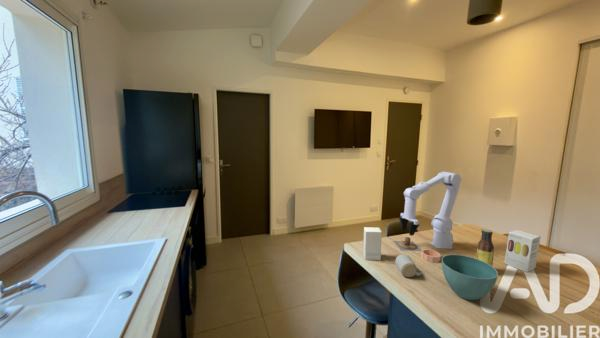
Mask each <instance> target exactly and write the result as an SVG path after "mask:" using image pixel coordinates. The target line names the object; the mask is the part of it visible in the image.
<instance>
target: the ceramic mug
mask: <svg viewBox="0 0 600 338" xmlns="http://www.w3.org/2000/svg"><path fill="white" fill-rule="evenodd" d="M395 265H396V267H397V269H398V271H400V273H401V275H403V276H404V277H406V278H412V277H414V276H418V277H420V276H421V275H422V273H423V272H422V270H420V269H419V268H418V267H417V265H416V263H415V262H414V261H413V259H412V258H411V257H410V255H408V254H406V253H402V254H399V255H397V256H396V258H395Z"/></svg>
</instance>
